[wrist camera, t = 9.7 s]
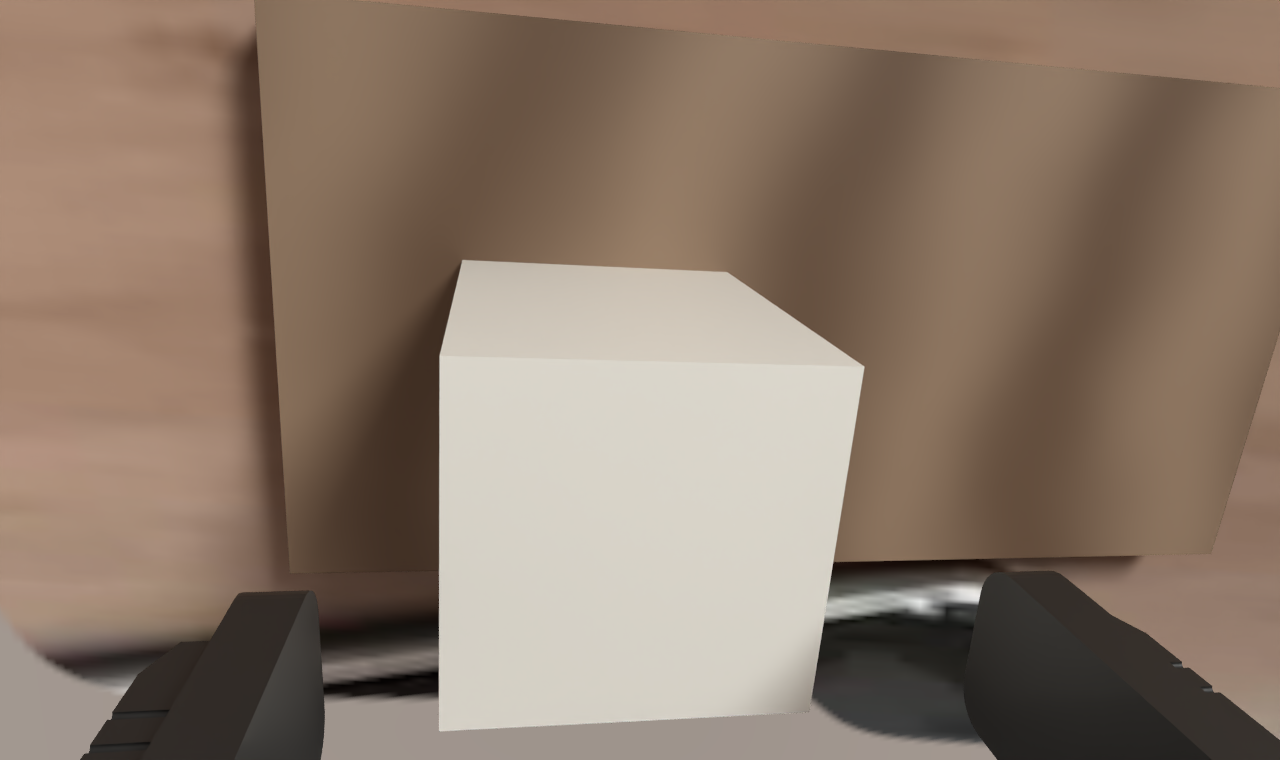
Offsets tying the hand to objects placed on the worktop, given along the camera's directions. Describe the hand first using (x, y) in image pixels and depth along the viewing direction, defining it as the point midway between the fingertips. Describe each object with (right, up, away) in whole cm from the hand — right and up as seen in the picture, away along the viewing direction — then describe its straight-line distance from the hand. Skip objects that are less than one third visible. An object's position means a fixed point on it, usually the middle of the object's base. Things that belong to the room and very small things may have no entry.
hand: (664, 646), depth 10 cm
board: (+3, +5, +9) cm, 11 cm away
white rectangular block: (-1, +3, +7) cm, 8 cm away
